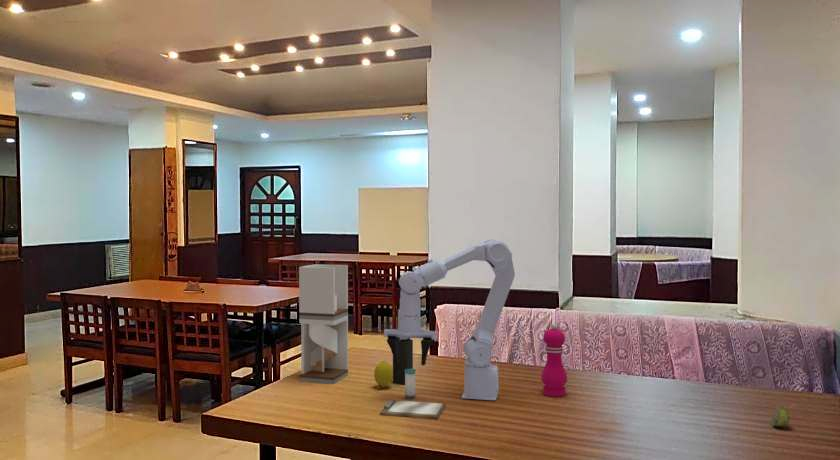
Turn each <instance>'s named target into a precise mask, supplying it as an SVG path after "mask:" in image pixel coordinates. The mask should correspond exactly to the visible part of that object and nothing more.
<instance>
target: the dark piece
mask: <svg viewBox="0 0 840 460" xmlns="http://www.w3.org/2000/svg"><path fill="white" fill-rule="evenodd" d="M397 329H400V308H399V309H398V311H397ZM413 341H414V340H413V339H412V338H403V337H400V340H399V363H397V364H395V362H394V357H393V356H392V369H393V379H392V383H393V384H394V383H396V385H403V386H405V369H414V357H413V356H414V347H413V346H414V345H413V343H414V342H413Z"/></svg>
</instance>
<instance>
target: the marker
mask: <svg viewBox="0 0 840 460" xmlns="http://www.w3.org/2000/svg"><path fill="white" fill-rule="evenodd" d="M416 372H417V371H416V368H413V369H405V385H404V387H405V388H404V390H405V391H404V393H405V394H404V395H405V396H404V397H405V399H406V400H414V399H416Z"/></svg>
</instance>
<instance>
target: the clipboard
mask: <svg viewBox="0 0 840 460" xmlns="http://www.w3.org/2000/svg"><path fill="white" fill-rule="evenodd" d="M446 407H447V403H441V402H427V401H425V402H424V401H413V400H411V401H410V400H398V399H397V400H396V399H391V400H390V399H389V400H388V401H387V402H386V403H385V404H384V406H383V409H381V410H380V412H379V415H380V416H388V417H400V418H401V417H402V418H403V417H404V418H416V419H429V420H438V419H439V418H440V416H441V415H442V413H443V411H444V410H445V408H446Z"/></svg>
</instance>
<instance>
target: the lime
mask: <svg viewBox="0 0 840 460" xmlns="http://www.w3.org/2000/svg"><path fill="white" fill-rule="evenodd" d="M770 418H771V420H770V425H771V426H772V427H774V426H775V427H774V428H784V427H787V426H788V424H789V422H790V415H789V412H788V410H787V408H785V407H784V406H781V405H778V406H776V408H775V409H774V410H773V412H772V415H771V417H770Z"/></svg>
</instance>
